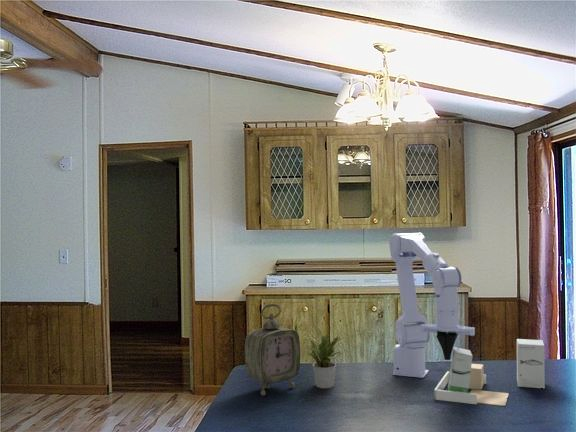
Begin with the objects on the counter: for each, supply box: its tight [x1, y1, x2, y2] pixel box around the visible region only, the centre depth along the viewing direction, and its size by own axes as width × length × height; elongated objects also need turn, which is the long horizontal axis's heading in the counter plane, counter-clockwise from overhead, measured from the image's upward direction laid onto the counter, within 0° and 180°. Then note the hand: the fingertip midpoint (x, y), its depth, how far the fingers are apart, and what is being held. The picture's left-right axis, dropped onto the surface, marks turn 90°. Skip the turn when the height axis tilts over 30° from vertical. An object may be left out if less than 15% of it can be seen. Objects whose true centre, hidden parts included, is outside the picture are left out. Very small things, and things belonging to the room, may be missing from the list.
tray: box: [433, 370, 487, 405], centre depth 172 cm, size 11×20×3 cm, turn 155°
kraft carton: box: [469, 363, 485, 391], centre depth 176 cm, size 5×5×6 cm
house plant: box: [304, 330, 348, 389], centre depth 178 cm, size 14×14×16 cm
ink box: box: [447, 346, 474, 393], centre depth 169 cm, size 9×5×12 cm, turn 168°
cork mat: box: [469, 389, 510, 407], centre depth 165 cm, size 10×11×1 cm
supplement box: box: [516, 338, 546, 390], centre depth 177 cm, size 7×7×13 cm
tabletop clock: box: [244, 303, 301, 397], centre depth 176 cm, size 14×9×25 cm, turn 130°
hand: (447, 359), depth 170 cm, fingers closed
